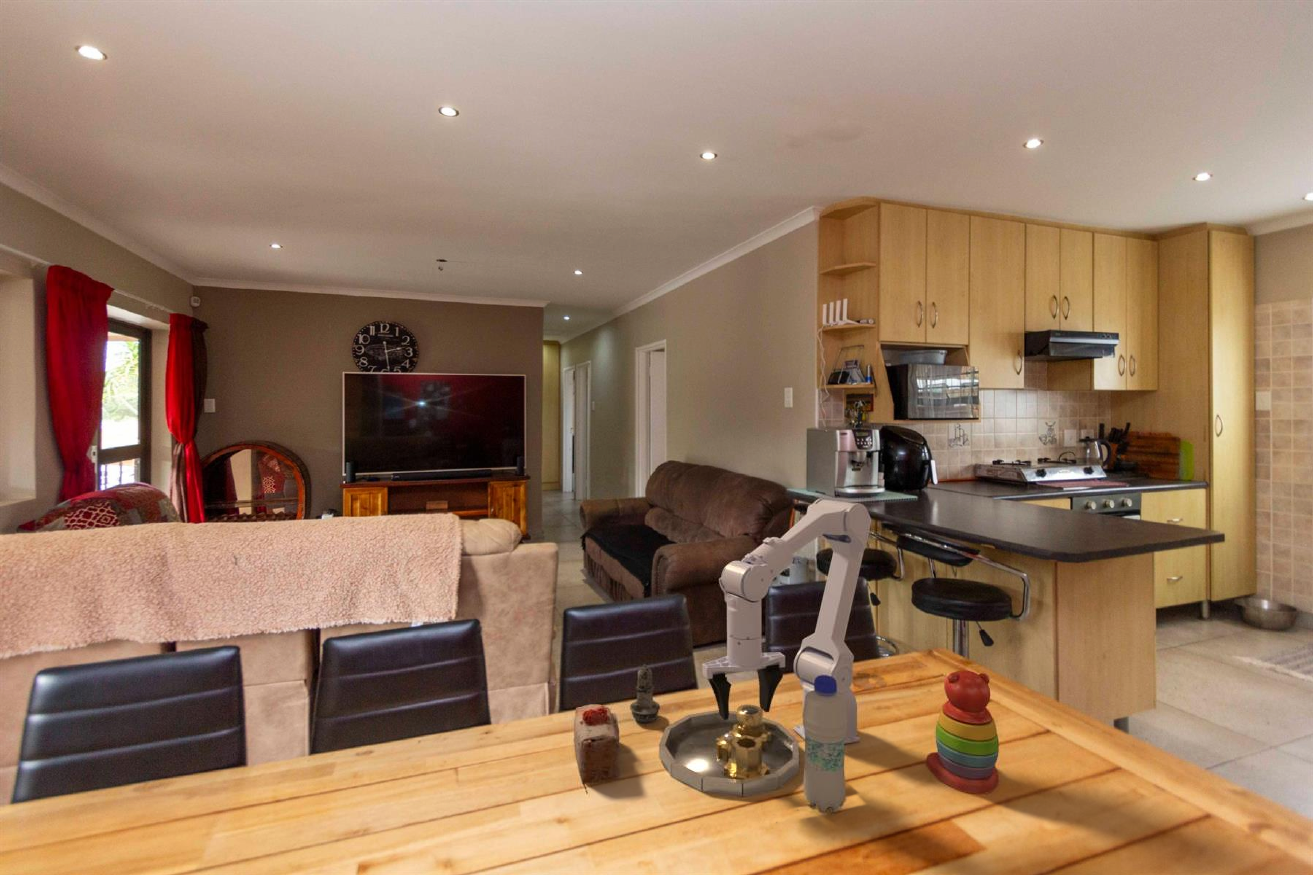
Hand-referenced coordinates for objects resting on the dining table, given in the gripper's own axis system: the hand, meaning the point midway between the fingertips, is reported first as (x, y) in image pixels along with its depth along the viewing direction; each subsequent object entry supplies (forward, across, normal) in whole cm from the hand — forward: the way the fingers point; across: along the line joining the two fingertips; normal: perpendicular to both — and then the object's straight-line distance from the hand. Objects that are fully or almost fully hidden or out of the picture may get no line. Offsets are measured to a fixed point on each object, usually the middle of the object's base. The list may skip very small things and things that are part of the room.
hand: (744, 713), depth 107 cm
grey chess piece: (+10, +11, -20) cm, 25 cm away
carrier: (+10, +1, -3) cm, 10 cm away
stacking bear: (+10, -34, +14) cm, 38 cm away
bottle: (+10, -7, +12) cm, 18 cm away
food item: (+10, +23, -10) cm, 27 cm away
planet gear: (+9, +1, +3) cm, 9 cm away
